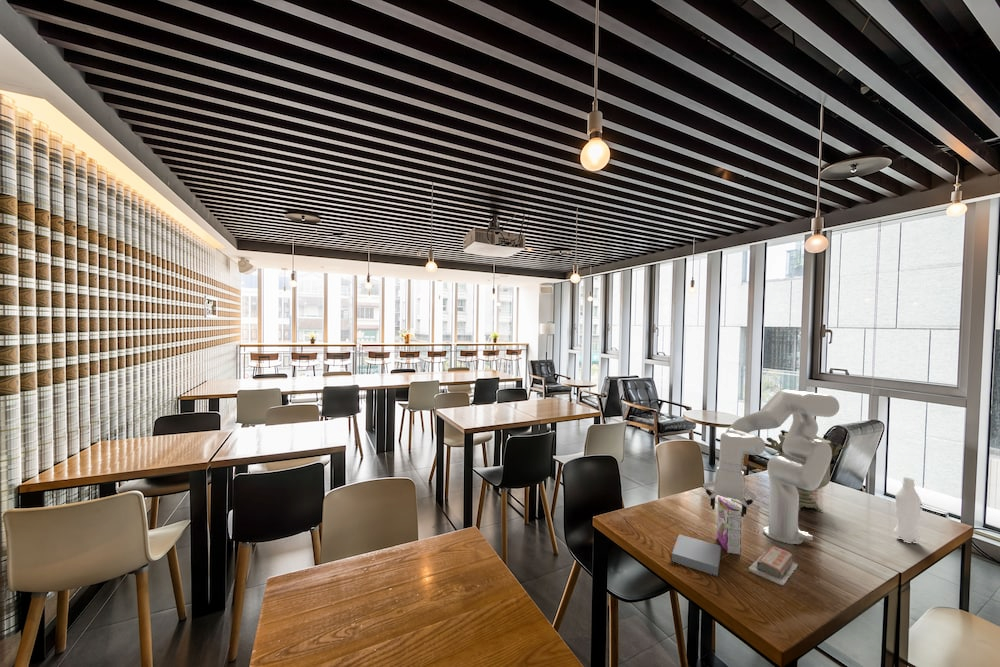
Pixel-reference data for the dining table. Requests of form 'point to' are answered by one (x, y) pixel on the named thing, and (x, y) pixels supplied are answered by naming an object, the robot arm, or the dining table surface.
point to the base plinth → (697, 554)
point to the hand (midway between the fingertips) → (727, 511)
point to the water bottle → (907, 512)
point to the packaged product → (774, 565)
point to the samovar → (805, 494)
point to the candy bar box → (729, 525)
